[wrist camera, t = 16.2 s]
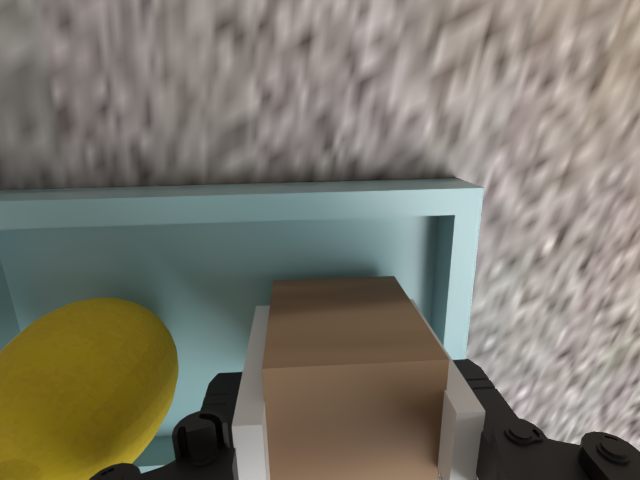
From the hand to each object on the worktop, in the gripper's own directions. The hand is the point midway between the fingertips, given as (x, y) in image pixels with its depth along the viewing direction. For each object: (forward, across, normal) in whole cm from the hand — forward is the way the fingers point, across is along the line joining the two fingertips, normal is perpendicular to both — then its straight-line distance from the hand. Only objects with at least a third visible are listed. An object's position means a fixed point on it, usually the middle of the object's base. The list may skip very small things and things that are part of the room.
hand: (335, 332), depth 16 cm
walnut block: (0, 0, 0) cm, 0 cm away
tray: (+2, -4, 0) cm, 5 cm away
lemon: (+1, -9, 0) cm, 9 cm away
